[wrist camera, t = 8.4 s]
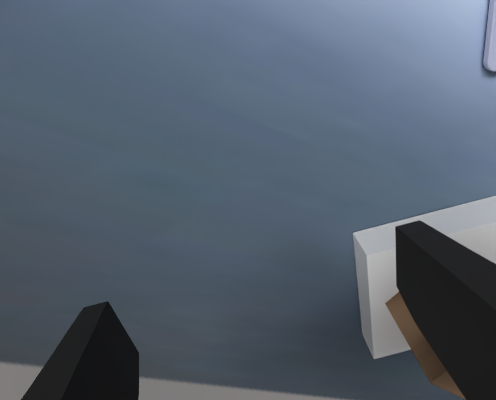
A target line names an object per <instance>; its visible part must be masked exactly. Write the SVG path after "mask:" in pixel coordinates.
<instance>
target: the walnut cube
mask: <svg viewBox="0 0 496 400" xmlns="http://www.w3.org/2000/svg"><path fill="white" fill-rule="evenodd" d="M385 304H386V306H387V308H388V310H389V311H390V313H391V315H392V317H393V318H394V320H395V322H396V324H397V325H398V327H399V329H400V331H401V332H402V334H403V336H404V338H405V339H406V341H407V343H408V345H409V346H410V348H411V350H412V352H413V353H414V355H415V357H416V359H417V360H418V362H419V364H420V366H421V367H422V369H423V371H424V373H425V374H426V376H427V378H428V380H429V381H430V383H431V384H434V385H436V386H438V387H440V388H442V389H444V390H446V391H449V392H451V393H453V394H455V395H457V396H459V397H461V398H463V399H465V397H464V396H463V394H462V393H461V391H460V390H459V388H458V387H457V385H456V384H455V382H454V381H453V379H452V378H451V376H450V375H449V373H448V372H447V370H446V369H445V367H444V366H443V364H442V363H441V361H440V360H439V358H438V357H437V355H436V354H435V352H434V351H433V349H432V348H431V346H430V345H429V343H428V342H427V340H426V339H425V337H424V336H423V334H422V333H421V331H420V330H419V328H418V326H417V325H416V323H415V322H414V320H413V318H412V316H411V314H410V312H409V310H408V308H407V306H406V304H405V302H404V300H403V298H402V296H401V294H400V292H398V293H397V294H396V295H394V296H393V297H392V298H391V299H390V300H389V301H387V302H386V303H385Z"/></svg>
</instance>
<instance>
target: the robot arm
mask: <svg viewBox="0 0 496 400" xmlns="http://www.w3.org/2000/svg"><path fill="white" fill-rule="evenodd" d="M483 64H484V67H485V68H486V69H488V70H490V71H493V72H495V71H496V0H490V3H489V12H488V22H487V31H486V41H485V50H484V59H483ZM395 237H396V286H397V288H398V290H399V292H400V294H401V296H402V298H403V300H404V302H405V304H406V306H407V308H408V310H409V312H410V314H411V316H412V318H413V320H414V322H415V323H416V325H417V326H418V328H419V330H420V331H421V333H422V334H423V336H424V337H425V339H426V340H427V342H428V343H429V345H430V346H431V348H432V349H433V351H434V352H435V354H436V355H437V357H438V358H439V360H440V361H441V363H442V364H443V366H444V367H445V369H446V370H447V372H448V373H449V375H450V376H451V378H452V379H453V381H454V382H455V384H456V385H457V387H458V388H459V390H460V391H461V393H462V394H463V396H464V397H465V399H466V400H496V264H495V263H493V262H491V261H490V260H488V259H486V258H484V257H482V256H481V255H479V254H477V253H475V252H474V251H472V250H470V249H468V248H467V247H465V246H463V245H462V244H460V243H458V242H456V241H455V240H453V239H451V238H450V237H448V236H446V235H444V234H443V233H441V232H439V231H438V230H436V229H434V228H433V227H431V226H429V225H427V224H426V223H424V222H422V221H420V220H418V221H415V222H411V223H407V224H403V225H399V226H395ZM138 396H139V352H138V351H137V349H136V347H135V346H134V344H133V342H132V341H131V339H130V337H129V336H128V334H127V332H126V331H125V329H124V327H123V326H122V324H121V322H120V321H119V319H118V317H117V316H116V314H115V312H114V310H113V309H112V307H111V305H110V304H109V302H108V301H107V302H103V303H100V304H96V305H92V306H88V307H84V308H83V310H82V311H81V312H80V314H79V315H78V317H77V318H76V320H75V321H74V322H73V324H72V325H71V327H70V328H69V330H68V331H67V333H66V334H65V336H64V337H63V339H62V340H61V342H60V343H59V345H58V347H57V348H56V350H55V351H54V353H53V354H52V356H51V357H50V358H49V360H48V361H47V363H46V364H45V366H44V367H43V369H42V370H41V372H40V373H39V375H38V376H37V377H36V379H35V380H34V382H33V384H32V385H31V386H30V388H29V389H28V391H27V392H26V393H25V395H24V396H23V398H22V399H21V400H138Z"/></svg>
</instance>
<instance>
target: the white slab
mask: <svg viewBox="0 0 496 400" xmlns="http://www.w3.org/2000/svg"><path fill="white" fill-rule="evenodd" d="M418 220H420V221H422V222H424V223H426V224H427V225H429V226H431V227H433V228H434V229H436V230H438V231H439V232H441V233H443V234H444V235H446V236H448V237H450V238H451V239H453V240H455V241H456V242H458V243H460V244H462V245H463V246H465V247H467V248H468V249H470V250H472V251H474V252H475V253H477V254H479V255H481V256H482V257H484V258H486V259H488V260H490V261H491V262H493V263H495V264H496V196H492V197H488V198H484V199H481V200H477V201H473V202H469V203H465V204H461V205H458V206H454V207H450V208H446V209H442V210H438V211H434V212H431V213H427V214H423V215H419V216H415V217H411V218H408V219H404V220H400V221H396V222H392V223H388V224H385V225H381V226H377V227H373V228H369V229H365V230H361V231H358V232H354V233H353V239H354V250H355V261H356V272H357V283H358V294H359V304H360V315H361V326H362V335H363V337H364V339H365V341H366V343H367V345H368V348H369V350H370V352H371V354H372V356H373V358H374V359H377V358H381V357H385V356H389V355H392V354H396V353H400V352H404V351H408V350H411V348H410V346H409V345H408V343H407V341H406V339H405V338H404V336H403V334H402V332H401V331H400V329H399V327H398V325H397V324H396V322H395V320H394V318H393V317H392V315H391V313H390V311H389V310H388V308H387V306H386V304H385V303H386V302H387V301H389V300H390V299H391V298H392V297H393V296H394V295H396V294H397V293H398V292H399V290H398V288H397V286H396V237H395V226H399V225H403V224H407V223H411V222H415V221H418Z"/></svg>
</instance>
